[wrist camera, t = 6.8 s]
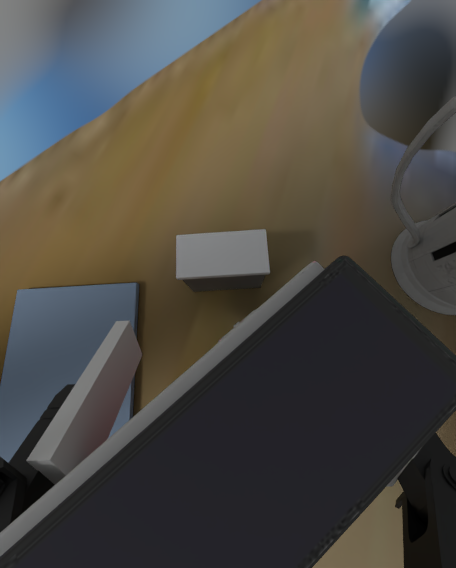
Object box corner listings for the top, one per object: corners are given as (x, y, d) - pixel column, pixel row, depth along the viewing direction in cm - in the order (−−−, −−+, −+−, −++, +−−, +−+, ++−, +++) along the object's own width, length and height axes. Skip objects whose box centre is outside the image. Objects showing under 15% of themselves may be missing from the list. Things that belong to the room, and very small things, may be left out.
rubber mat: (-12, 495, 17) (-21, 501, 17) (23, 291, 21) (17, 289, 21) (129, 492, 17) (125, 497, 16) (139, 284, 21) (136, 282, 20)
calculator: (262, 309, 20) (326, 223, 5) (298, 349, 19) (495, 376, 4) (162, 397, 18) (-127, 608, 4) (194, 444, 18) (-25, 949, 3)
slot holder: (193, 523, 16) (174, 600, 11) (190, 259, 21) (176, 235, 16) (283, 521, 16) (302, 599, 11) (259, 254, 21) (265, 229, 16)
